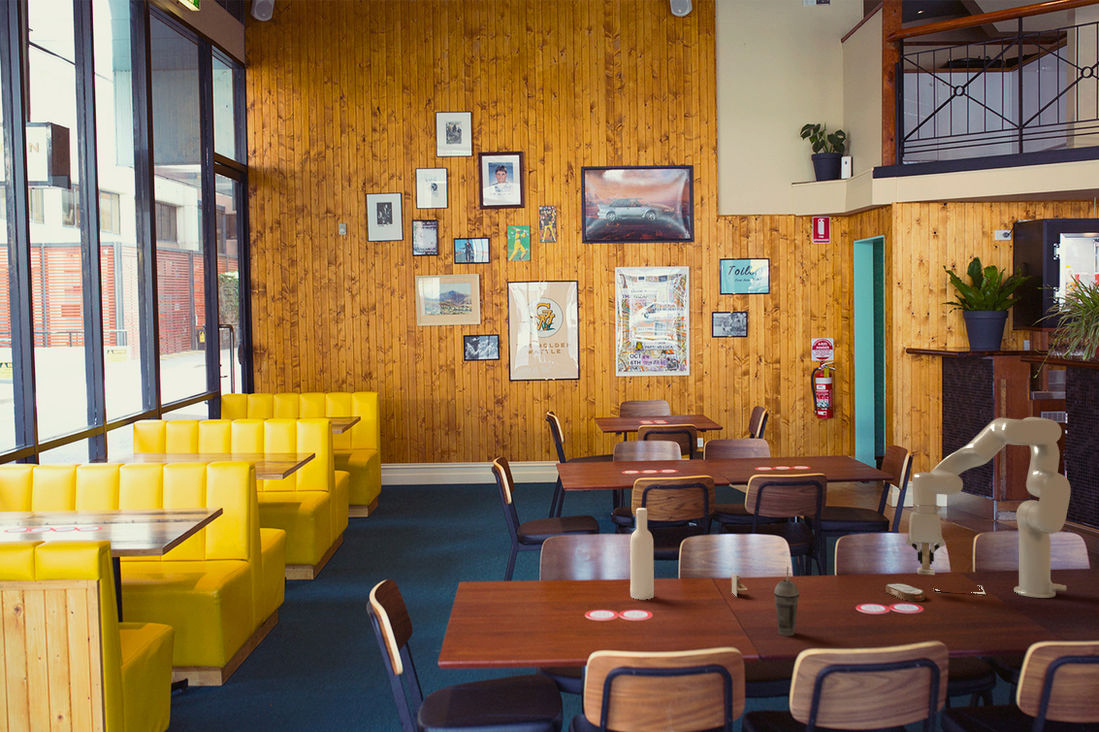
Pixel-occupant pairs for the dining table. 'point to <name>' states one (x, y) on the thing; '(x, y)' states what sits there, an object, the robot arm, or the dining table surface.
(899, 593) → the tin
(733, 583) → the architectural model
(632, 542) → the bottle
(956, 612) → the dining table surface
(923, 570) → the beige post on base
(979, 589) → the tool mat
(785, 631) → the beverage cup
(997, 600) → the dining table surface
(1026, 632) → the dining table surface
